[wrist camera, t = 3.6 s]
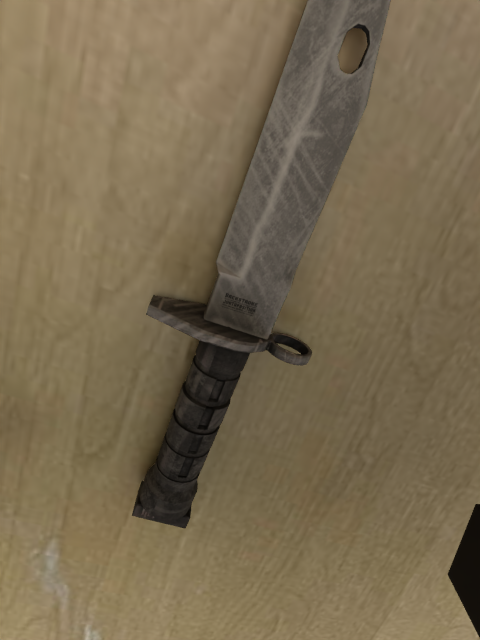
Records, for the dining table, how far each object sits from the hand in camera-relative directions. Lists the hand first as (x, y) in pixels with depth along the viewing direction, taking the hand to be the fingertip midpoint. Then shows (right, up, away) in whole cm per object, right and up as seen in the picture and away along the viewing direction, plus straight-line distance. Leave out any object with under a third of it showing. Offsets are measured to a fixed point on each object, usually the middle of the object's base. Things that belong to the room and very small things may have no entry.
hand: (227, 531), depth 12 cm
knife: (+1, +7, +2) cm, 7 cm away
